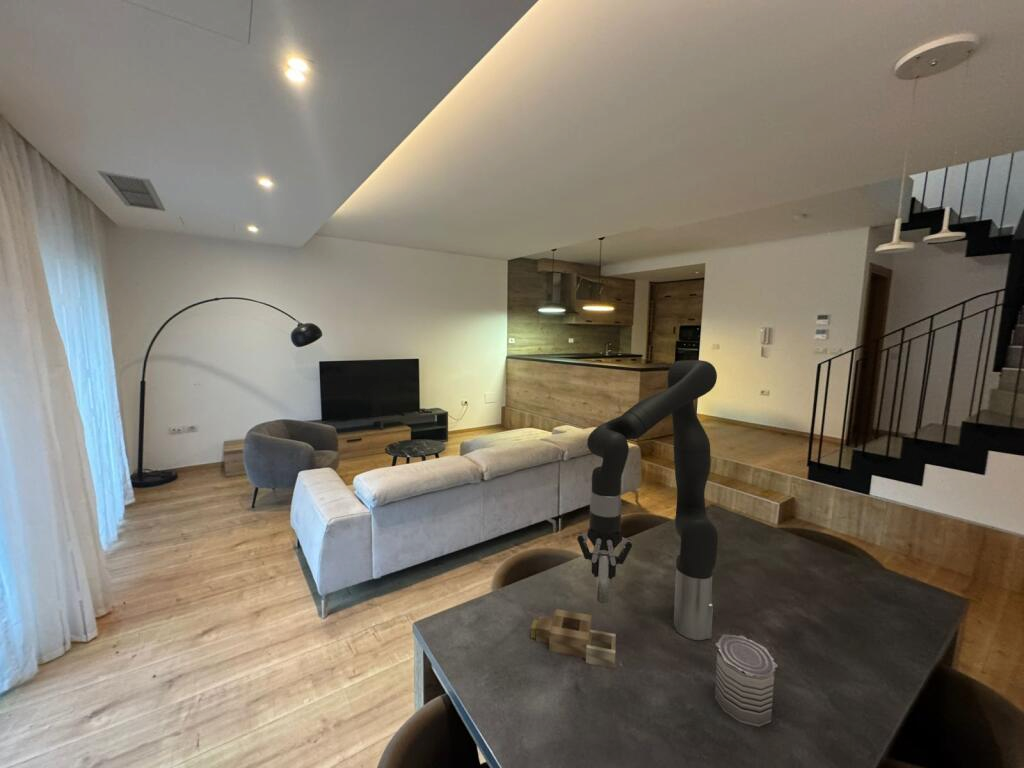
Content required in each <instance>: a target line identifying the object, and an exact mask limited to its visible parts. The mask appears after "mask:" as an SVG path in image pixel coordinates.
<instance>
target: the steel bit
mask: <svg viewBox="0 0 1024 768" xmlns="http://www.w3.org/2000/svg"><path fill="white" fill-rule="evenodd" d="M610 584H611V579H610V556H609V551H605V550H599V553H598V557H597V577H596V592H595V593H596V596H595V597H596V598H595V600H596V601H597V602H598V603H600V604H608V603H609V602H610V589H611V588H610Z"/></svg>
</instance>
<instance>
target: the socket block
mask: <svg viewBox="0 0 1024 768" xmlns="http://www.w3.org/2000/svg"><path fill="white" fill-rule="evenodd" d="M592 618H593V617H592V615H591V614H586V613H580V612H575V611H570V610H565V609H564V610H562V609H558V608H555V610H554V614H553V617H548V616H543V615H542V616H541V615H540V616H538V619H537V620H538V623H537V627H536V637H535V642H537V643H543V644H548V651H549V652H552V653H557V654H558V653H559V654H562V655H568V656H572V657H573V656H574V657H578V658H582V659H583V658H584V659H586V645H587V644H589V637H590V629H591V630H592Z"/></svg>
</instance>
